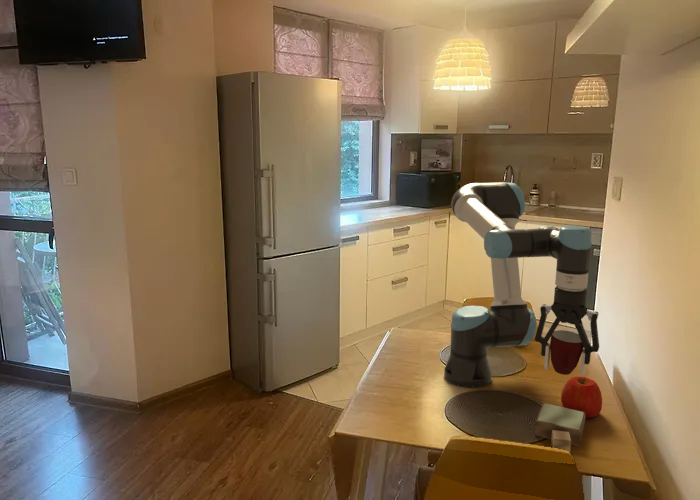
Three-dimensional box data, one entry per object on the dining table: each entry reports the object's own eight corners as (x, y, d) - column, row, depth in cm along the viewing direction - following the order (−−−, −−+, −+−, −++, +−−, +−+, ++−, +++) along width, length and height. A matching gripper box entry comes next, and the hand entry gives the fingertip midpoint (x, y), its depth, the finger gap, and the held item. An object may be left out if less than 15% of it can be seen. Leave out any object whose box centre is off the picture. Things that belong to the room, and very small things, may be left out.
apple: (560, 418, 149) (563, 383, 146) (559, 400, 159) (562, 367, 156) (602, 425, 145) (606, 389, 143) (599, 406, 155) (602, 372, 153)
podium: (534, 434, 140) (535, 420, 140) (542, 416, 150) (543, 402, 149) (579, 446, 135) (580, 431, 134) (584, 426, 144) (585, 411, 143)
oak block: (552, 452, 133) (554, 438, 132) (551, 444, 136) (552, 430, 136) (569, 455, 132) (571, 440, 131) (567, 446, 135) (568, 432, 135)
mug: (588, 384, 134) (594, 347, 131) (556, 382, 134) (561, 346, 131) (571, 364, 144) (577, 330, 141) (542, 363, 144) (547, 329, 141)
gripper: (525, 285, 136) (520, 368, 141) (615, 297, 126) (606, 385, 130) (531, 278, 142) (526, 358, 147) (617, 289, 132) (609, 374, 137)
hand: (564, 371), depth 139 cm, fingers closed on mug, 8 cm apart
